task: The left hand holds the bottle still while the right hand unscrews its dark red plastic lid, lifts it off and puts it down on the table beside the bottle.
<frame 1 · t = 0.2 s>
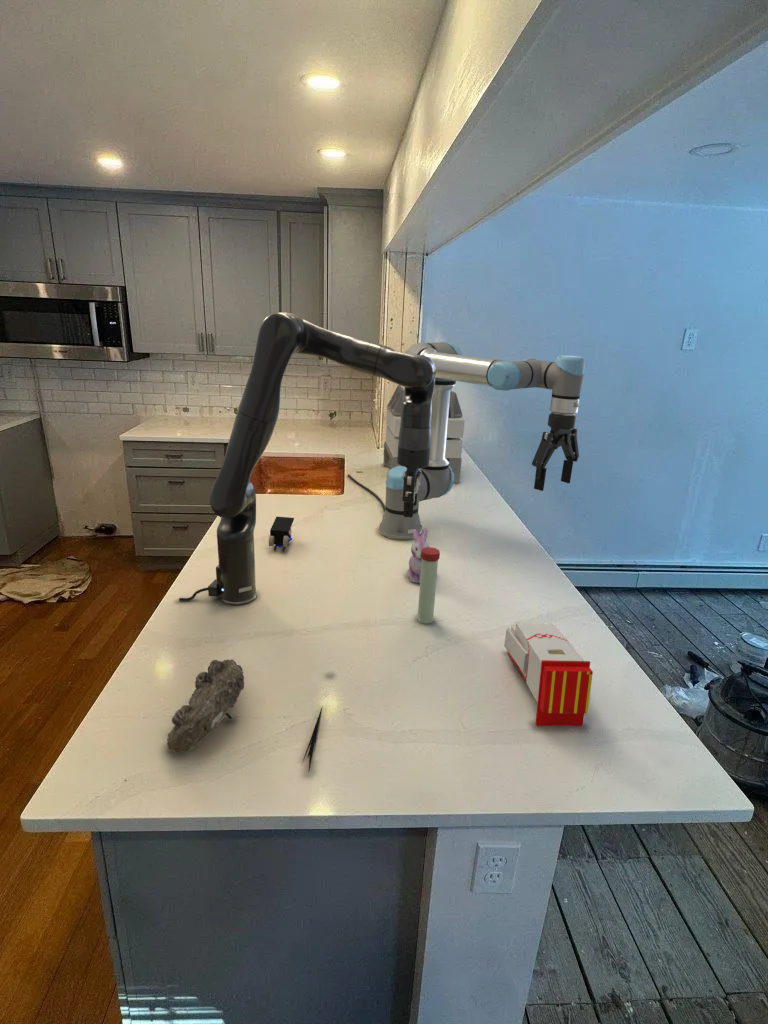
left hand: (410, 510, 137), 29 cm above the counter, tool pointing down, fingers open, 8 cm apart
right hand: (552, 485, 166), 28 cm above the counter, tool pointing down, fingers open, 13 cm apart
bottle: (425, 619, 146), on the counter
toy: (538, 683, 122), on the counter
figurine character: (281, 545, 186), on the counter
lid: (430, 552, 139), point 19 cm above the counter, screwed on, not yet turned
figurine: (420, 577, 168), on the counter
fossil: (212, 717, 108), on the counter
grey slatted crate: (419, 473, 275), on the counter
feather: (319, 719, 109), on the counter
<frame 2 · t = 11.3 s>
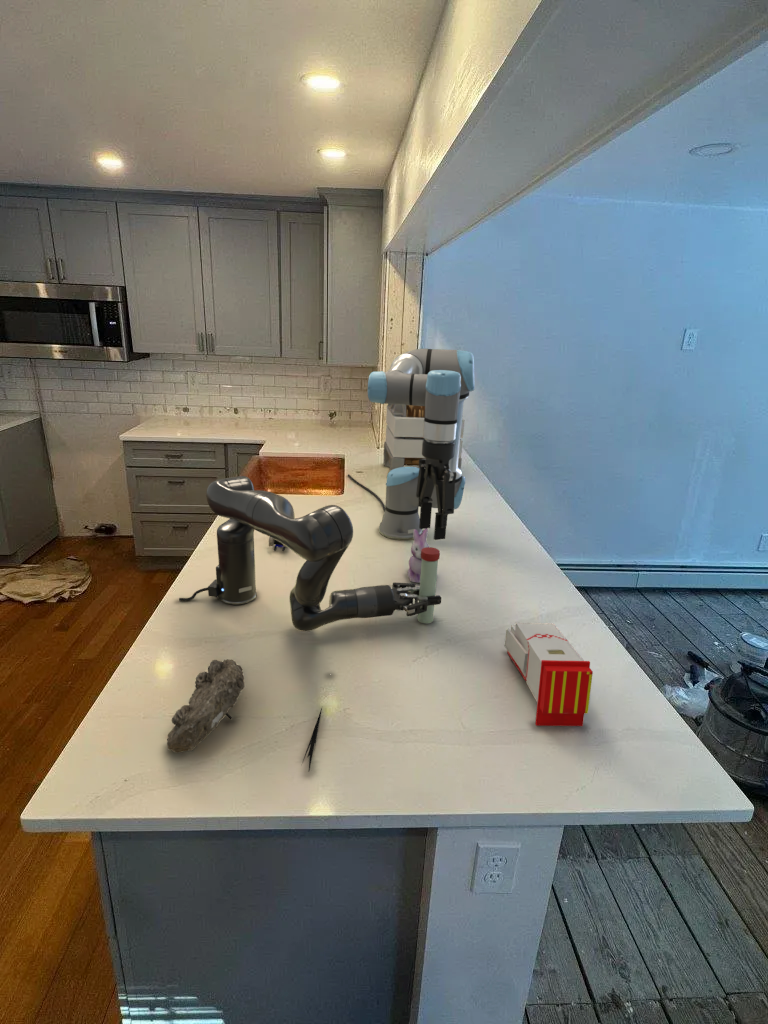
left hand: (437, 595, 144), 7 cm above the counter, tool horizontal, fingers closed on bottle, 4 cm apart
right hand: (431, 533, 137), 24 cm above the counter, tool pointing down, fingers open, 7 cm apart
bottle: (425, 619, 146), on the counter, touching left hand
everything else where it was.
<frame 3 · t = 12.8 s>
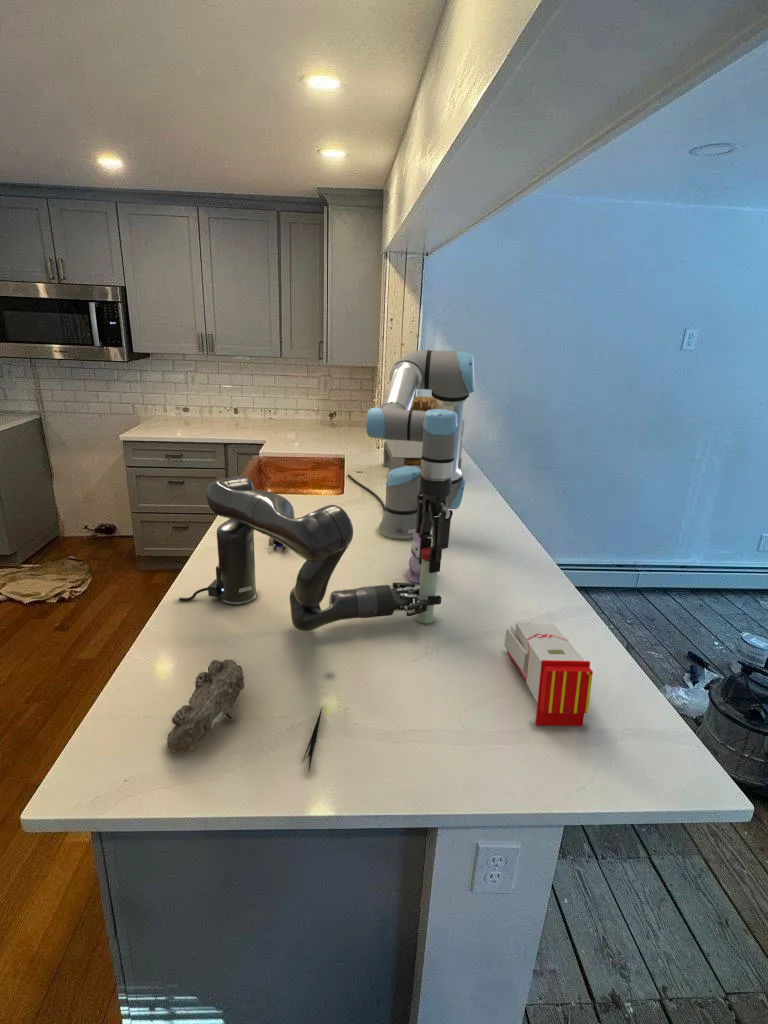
left hand: (437, 595, 144), 7 cm above the counter, tool horizontal, fingers closed on bottle, 4 cm apart
right hand: (429, 567, 141), 15 cm above the counter, tool pointing down, fingers closed on lid, 4 cm apart
bottle: (425, 619, 146), on the counter, touching left hand
lid: (430, 552, 139), point 19 cm above the counter, screwed on, not yet turned, touching right hand
everything else where it was.
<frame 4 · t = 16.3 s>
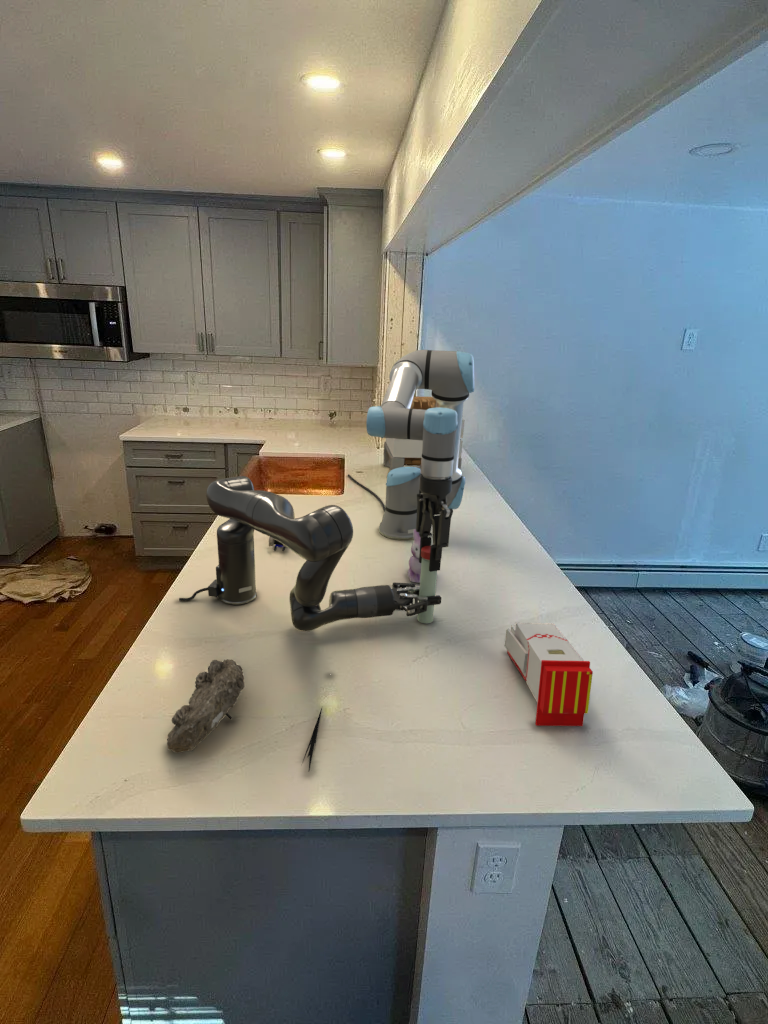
left hand: (437, 595, 144), 7 cm above the counter, tool horizontal, fingers closed on bottle, 4 cm apart
right hand: (429, 565, 140), 15 cm above the counter, tool pointing down, fingers closed on lid, 4 cm apart
bottle: (425, 619, 146), on the counter, touching left hand
lid: (430, 550, 139), point 19 cm above the counter, turned 106° so far, risen 0.4 cm, still on its thread, touching right hand
everything else where it was.
when the right hand's fingers open (0 cm above the counter, at t = 23.7 s): lid drops 3 cm, point 2 cm above the counter.
when the left hand's fingers open (7 cm above the counter, at t = 24.9 s): bottle stays where it is, on the counter.
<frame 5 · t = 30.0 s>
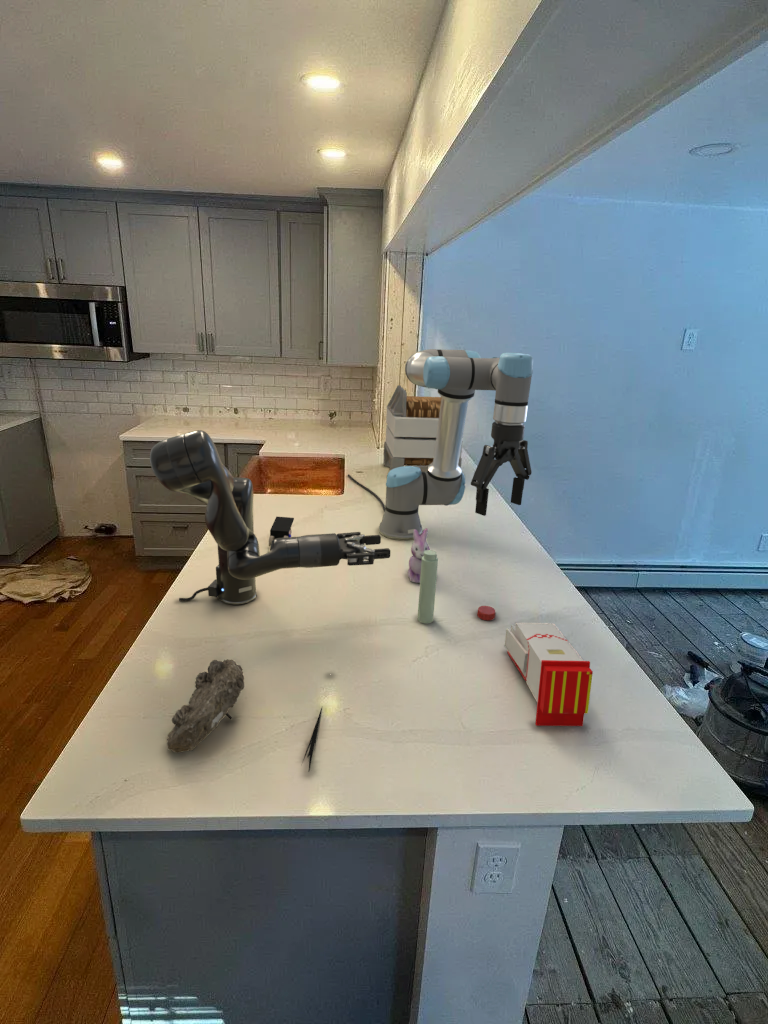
left hand: (385, 546, 135), 22 cm above the counter, tool horizontal, fingers open, 8 cm apart
right hand: (498, 508, 139), 30 cm above the counter, tool pointing down, fingers open, 13 cm apart
bottle: (425, 619, 146), on the counter
lid: (486, 611, 148), point 2 cm above the counter, off its thread
everything else where it was.
at the end: lid came off its thread; lid point 1.5 cm above the counter; the left hand is holding nothing; the right hand is holding nothing; bottle tilted 0°; bottle moved 0.0 cm from its start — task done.
